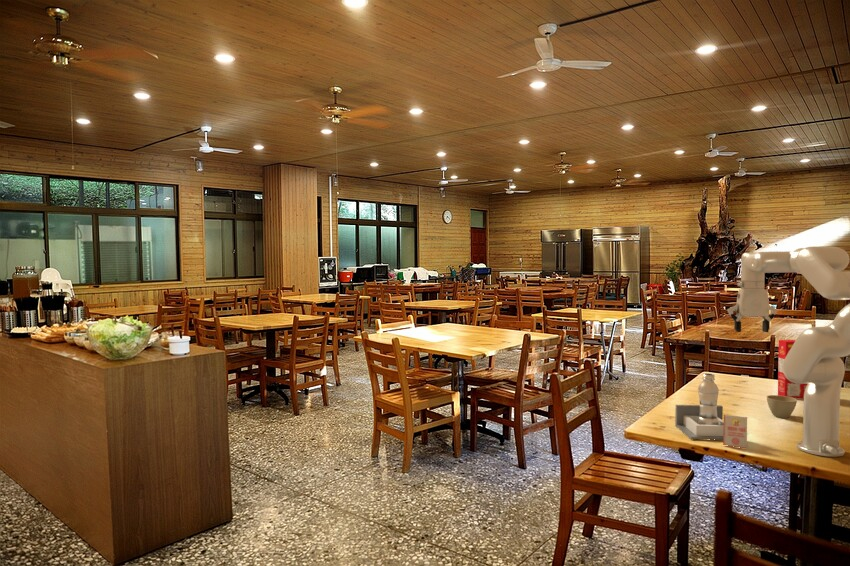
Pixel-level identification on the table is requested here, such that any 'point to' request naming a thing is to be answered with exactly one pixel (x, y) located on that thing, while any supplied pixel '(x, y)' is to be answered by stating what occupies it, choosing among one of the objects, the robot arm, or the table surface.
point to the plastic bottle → (708, 400)
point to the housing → (689, 423)
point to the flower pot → (781, 405)
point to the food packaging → (784, 384)
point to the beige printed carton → (735, 431)
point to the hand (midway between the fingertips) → (751, 331)
